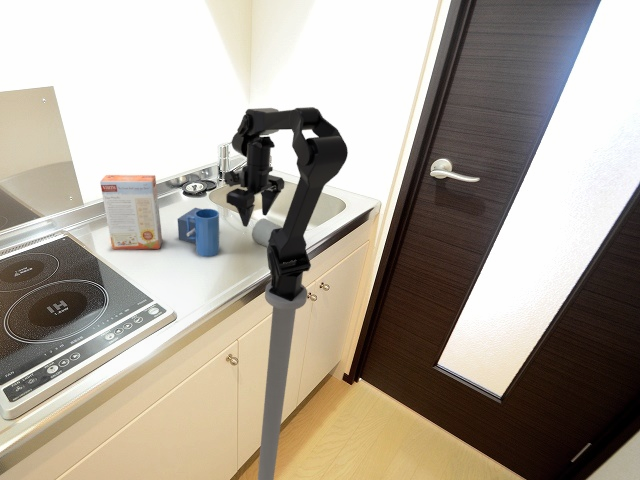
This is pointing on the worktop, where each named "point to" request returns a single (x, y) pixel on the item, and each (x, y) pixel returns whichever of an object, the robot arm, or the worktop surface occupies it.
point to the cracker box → (132, 211)
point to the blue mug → (205, 231)
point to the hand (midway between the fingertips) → (255, 220)
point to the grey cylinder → (263, 231)
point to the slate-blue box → (183, 226)
